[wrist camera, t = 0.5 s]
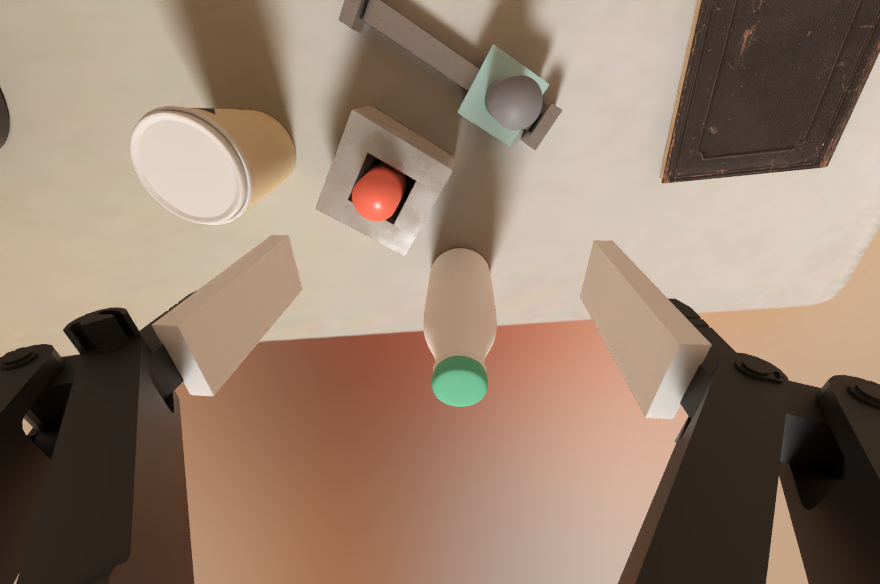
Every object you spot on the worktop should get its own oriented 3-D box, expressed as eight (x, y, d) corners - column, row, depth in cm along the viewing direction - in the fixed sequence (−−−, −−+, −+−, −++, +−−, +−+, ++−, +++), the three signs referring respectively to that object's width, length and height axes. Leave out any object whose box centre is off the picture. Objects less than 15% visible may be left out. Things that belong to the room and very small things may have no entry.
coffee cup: (253, 79, 34) (163, 76, 24) (321, 159, 38) (268, 186, 27) (201, 139, 37) (103, 159, 27) (268, 206, 41) (204, 247, 31)
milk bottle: (420, 261, 44) (394, 374, 27) (473, 235, 41) (482, 340, 24) (448, 305, 47) (441, 430, 30) (499, 283, 45) (522, 405, 28)
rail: (348, 25, 31) (338, 19, 29) (365, -26, 29) (356, -37, 27) (530, 145, 36) (535, 150, 33) (554, 108, 34) (562, 110, 31)
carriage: (457, 110, 34) (455, 122, 23) (490, 47, 31) (507, 25, 20) (506, 142, 36) (527, 168, 24) (542, 84, 33) (584, 83, 21)
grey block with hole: (337, 190, 39) (315, 208, 33) (370, 105, 35) (352, 109, 29) (412, 231, 42) (405, 255, 36) (454, 156, 37) (453, 170, 31)
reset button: (362, 189, 35) (345, 207, 30) (377, 154, 33) (362, 167, 28) (396, 208, 36) (385, 229, 31) (413, 175, 34) (404, 191, 29)
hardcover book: (652, 178, 37) (663, 183, 35) (715, -131, 26) (736, -149, 24) (812, 162, 36) (832, 166, 34) (958, -177, 24) (1003, -201, 22)
